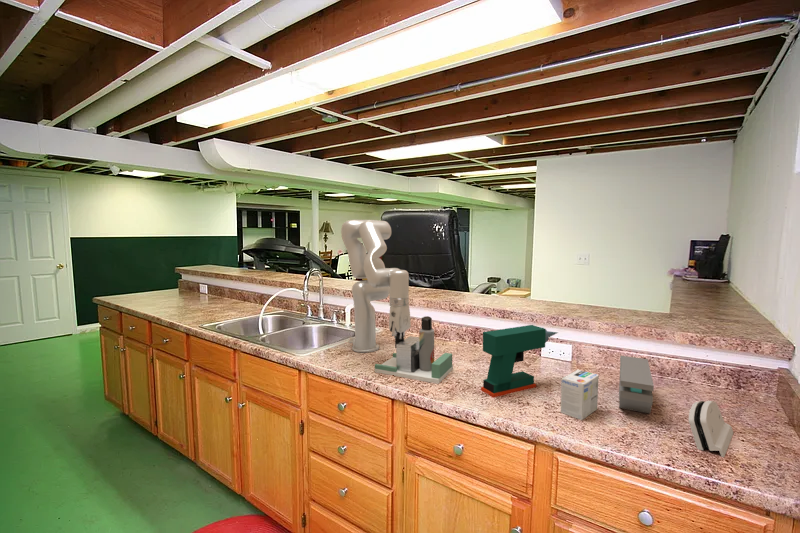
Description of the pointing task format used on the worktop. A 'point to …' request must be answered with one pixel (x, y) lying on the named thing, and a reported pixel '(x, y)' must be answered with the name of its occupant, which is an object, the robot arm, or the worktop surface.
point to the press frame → (435, 376)
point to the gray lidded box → (635, 384)
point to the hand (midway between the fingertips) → (399, 347)
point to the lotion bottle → (426, 344)
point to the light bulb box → (579, 394)
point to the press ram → (408, 354)
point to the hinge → (709, 427)
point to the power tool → (511, 357)
